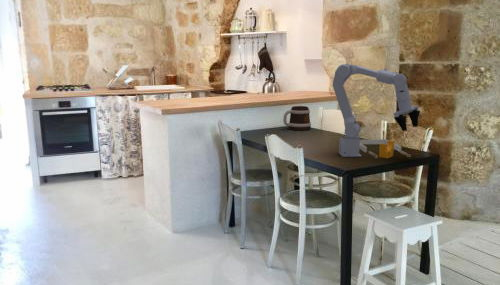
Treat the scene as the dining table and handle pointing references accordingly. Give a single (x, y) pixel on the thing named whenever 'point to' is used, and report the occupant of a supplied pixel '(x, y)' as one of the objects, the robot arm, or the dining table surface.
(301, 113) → the mug
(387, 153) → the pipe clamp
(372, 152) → the slot guide
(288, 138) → the dining table surface
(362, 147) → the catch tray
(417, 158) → the dining table surface
